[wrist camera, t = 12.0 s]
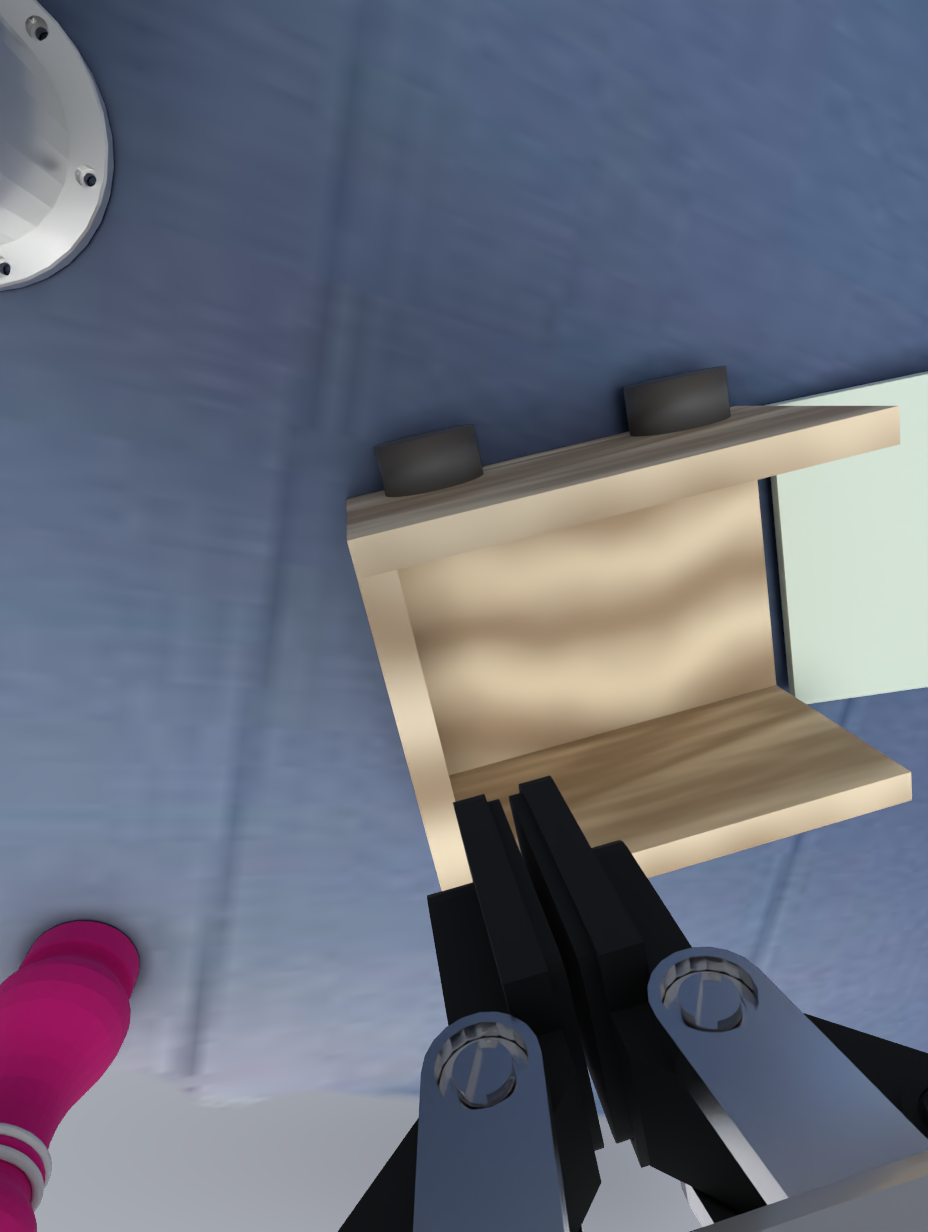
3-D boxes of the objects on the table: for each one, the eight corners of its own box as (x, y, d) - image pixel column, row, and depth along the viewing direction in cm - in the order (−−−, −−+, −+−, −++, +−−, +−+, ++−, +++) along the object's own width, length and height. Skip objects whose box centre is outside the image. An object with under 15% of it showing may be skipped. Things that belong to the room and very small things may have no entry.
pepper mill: (161, 924, 44) (21, 1323, 25) (133, 1021, 45) (-19, 1468, 26) (32, 901, 42) (-227, 1311, 23) (7, 1003, 43) (-254, 1466, 24)
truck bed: (333, 453, 38) (329, 475, 26) (731, 360, 40) (897, 341, 28) (433, 826, 45) (465, 978, 33) (768, 731, 47) (913, 843, 35)
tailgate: (770, 406, 38) (1007, 357, 37) (761, 404, 40) (987, 357, 38) (796, 705, 44) (1004, 675, 42) (786, 692, 45) (986, 663, 44)
